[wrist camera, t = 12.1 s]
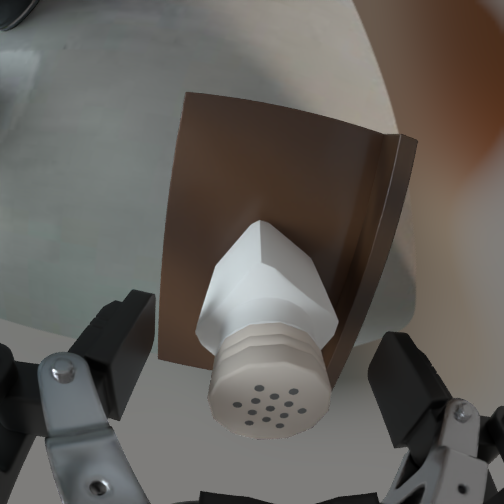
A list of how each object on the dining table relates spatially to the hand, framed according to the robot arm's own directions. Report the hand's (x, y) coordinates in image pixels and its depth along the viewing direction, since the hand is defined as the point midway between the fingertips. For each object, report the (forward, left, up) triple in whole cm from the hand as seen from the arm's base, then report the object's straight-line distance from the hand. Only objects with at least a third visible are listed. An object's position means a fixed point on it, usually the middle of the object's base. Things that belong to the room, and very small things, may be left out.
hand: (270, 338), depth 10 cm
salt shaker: (0, 0, -7) cm, 7 cm away
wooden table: (0, 0, -17) cm, 17 cm away
